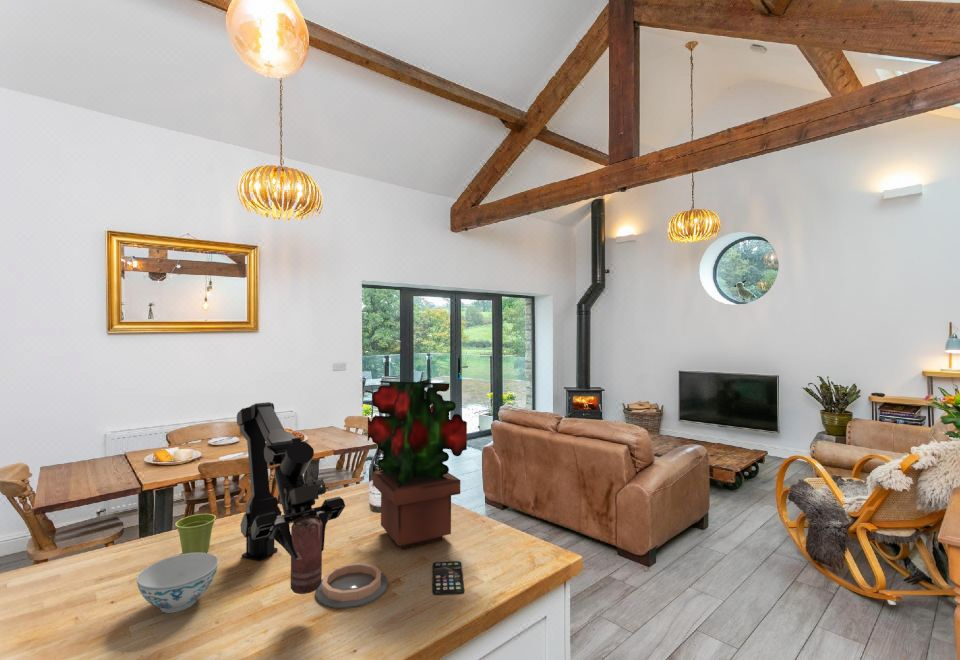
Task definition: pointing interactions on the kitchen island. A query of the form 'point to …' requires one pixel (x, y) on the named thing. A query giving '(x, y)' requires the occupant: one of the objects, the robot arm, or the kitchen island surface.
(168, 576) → the chinaware
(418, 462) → the potted plant
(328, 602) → the ring tray
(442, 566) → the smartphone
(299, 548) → the can
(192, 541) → the plant pot
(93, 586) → the kitchen island surface
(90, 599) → the kitchen island surface
